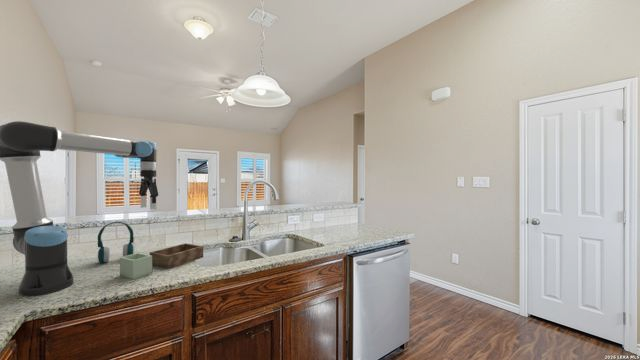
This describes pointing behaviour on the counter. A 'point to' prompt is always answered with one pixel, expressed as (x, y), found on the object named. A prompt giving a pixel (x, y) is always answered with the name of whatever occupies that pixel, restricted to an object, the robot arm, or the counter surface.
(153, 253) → the big crate
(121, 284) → the counter surface
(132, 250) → the headphones
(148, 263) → the small crate
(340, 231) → the counter surface
